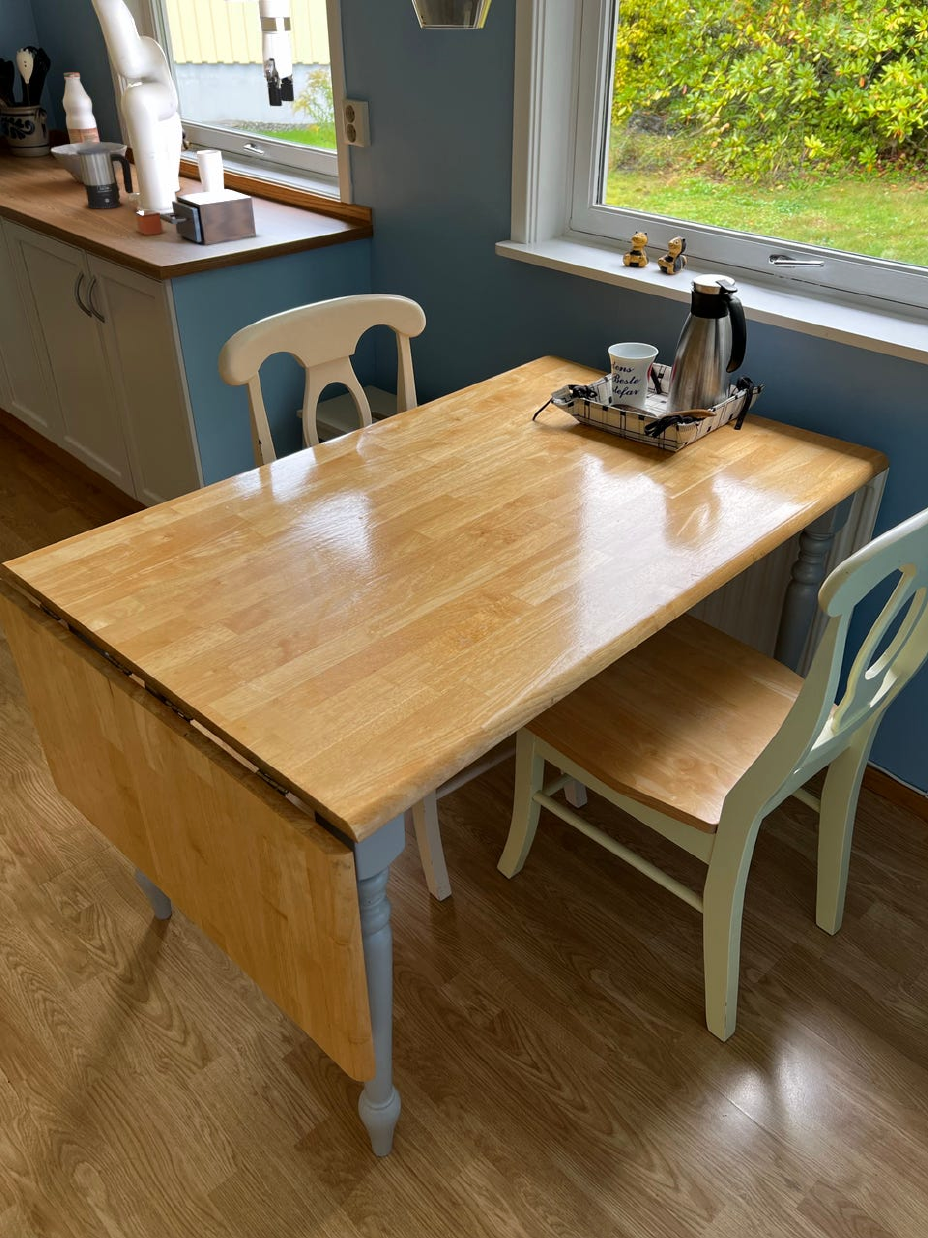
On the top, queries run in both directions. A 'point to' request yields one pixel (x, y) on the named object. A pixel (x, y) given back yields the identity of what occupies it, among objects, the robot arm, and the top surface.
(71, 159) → the ceramic bowl
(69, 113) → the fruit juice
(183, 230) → the drawer
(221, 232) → the cabinet
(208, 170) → the white cylinder
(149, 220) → the orange-red cube
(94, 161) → the milk frother
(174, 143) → the vase
